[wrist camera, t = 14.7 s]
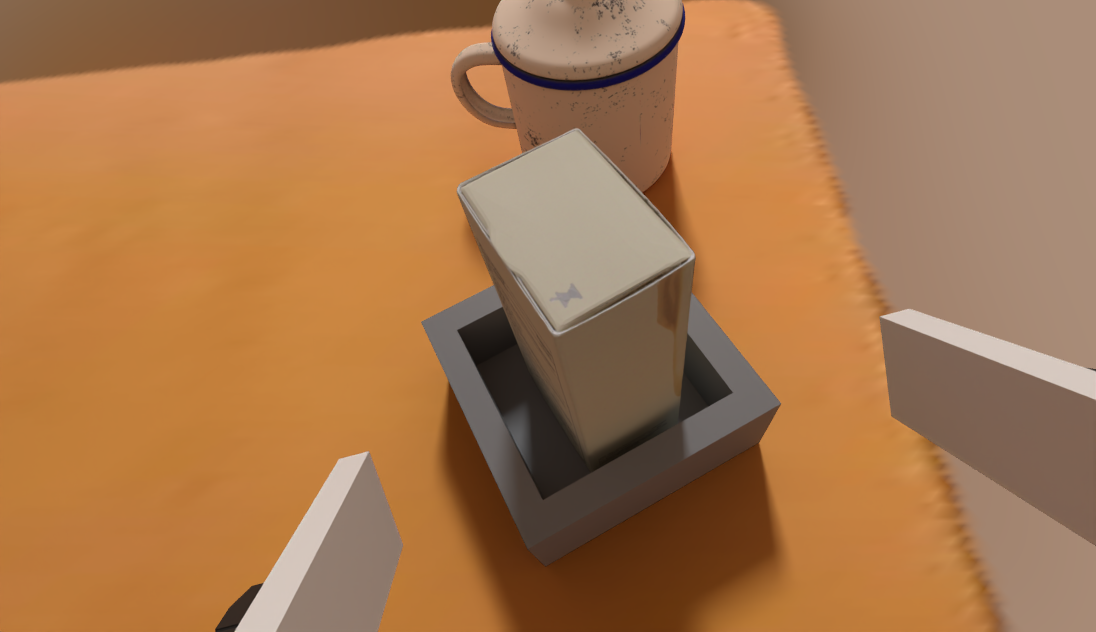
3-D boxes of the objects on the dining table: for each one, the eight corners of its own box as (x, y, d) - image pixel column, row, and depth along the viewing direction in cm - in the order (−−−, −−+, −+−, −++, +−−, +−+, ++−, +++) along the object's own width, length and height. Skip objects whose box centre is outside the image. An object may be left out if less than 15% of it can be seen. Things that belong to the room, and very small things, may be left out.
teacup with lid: (677, 100, 36) (692, -112, 26) (672, 215, 32) (688, 14, 22) (490, 102, 38) (437, -92, 28) (461, 211, 34) (387, 26, 24)
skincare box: (681, 429, 25) (712, 263, 14) (593, 482, 24) (559, 349, 14) (601, 318, 28) (579, 117, 18) (521, 363, 27) (449, 181, 17)
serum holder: (545, 566, 24) (527, 549, 20) (450, 366, 29) (420, 321, 25) (759, 442, 25) (781, 403, 21) (631, 272, 30) (630, 216, 26)
